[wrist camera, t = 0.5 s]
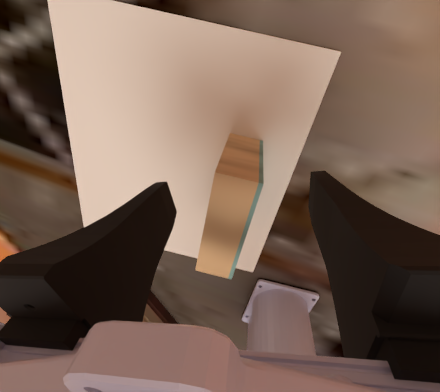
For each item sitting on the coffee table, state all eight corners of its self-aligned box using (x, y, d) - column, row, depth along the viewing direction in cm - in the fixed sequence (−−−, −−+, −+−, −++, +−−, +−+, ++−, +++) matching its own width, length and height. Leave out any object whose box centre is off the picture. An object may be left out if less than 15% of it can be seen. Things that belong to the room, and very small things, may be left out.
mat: (253, 269, 30) (252, 272, 30) (86, 228, 31) (84, 230, 30) (339, 51, 17) (341, 51, 17) (49, -14, 18) (45, -15, 17)
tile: (239, 219, 26) (231, 279, 19) (212, 212, 26) (195, 270, 19) (263, 140, 21) (263, 183, 14) (229, 132, 21) (214, 172, 14)
